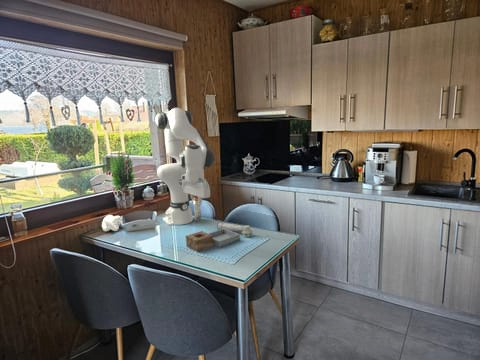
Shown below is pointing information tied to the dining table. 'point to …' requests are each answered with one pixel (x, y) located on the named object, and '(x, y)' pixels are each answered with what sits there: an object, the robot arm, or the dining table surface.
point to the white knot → (111, 223)
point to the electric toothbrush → (236, 228)
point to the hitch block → (199, 241)
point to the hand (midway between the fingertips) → (197, 203)
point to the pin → (197, 209)
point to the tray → (224, 237)
